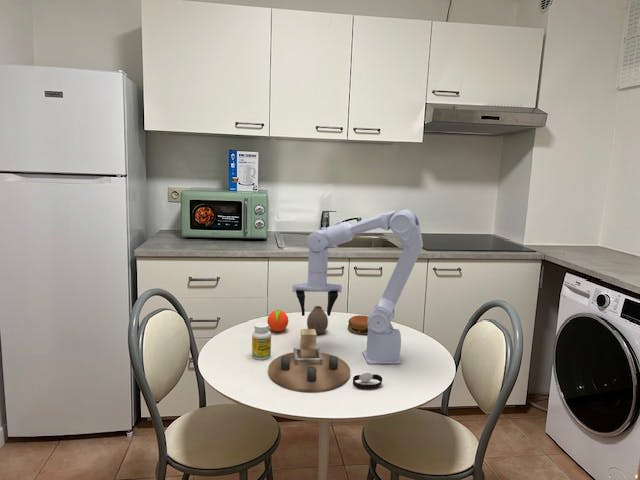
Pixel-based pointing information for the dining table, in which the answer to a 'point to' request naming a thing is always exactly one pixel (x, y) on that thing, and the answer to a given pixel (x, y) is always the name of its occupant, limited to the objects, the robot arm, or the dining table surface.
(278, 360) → the stool seat
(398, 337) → the robot arm
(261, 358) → the supplement bottle
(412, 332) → the dining table surface
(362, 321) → the burger
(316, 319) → the vase
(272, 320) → the clementine
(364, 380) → the watch
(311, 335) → the stool leg
